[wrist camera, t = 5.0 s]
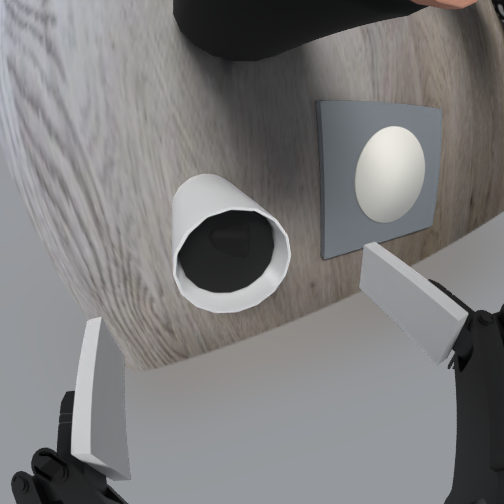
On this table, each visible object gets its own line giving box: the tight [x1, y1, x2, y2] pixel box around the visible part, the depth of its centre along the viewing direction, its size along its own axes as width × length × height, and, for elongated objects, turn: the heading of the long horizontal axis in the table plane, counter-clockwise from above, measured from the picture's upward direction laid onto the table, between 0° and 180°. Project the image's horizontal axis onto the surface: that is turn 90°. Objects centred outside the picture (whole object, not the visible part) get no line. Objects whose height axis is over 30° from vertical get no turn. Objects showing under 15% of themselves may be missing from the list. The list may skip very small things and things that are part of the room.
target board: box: [316, 101, 442, 259], centre depth 27 cm, size 16×18×1 cm
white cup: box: [172, 174, 291, 313], centre depth 20 cm, size 7×7×10 cm
